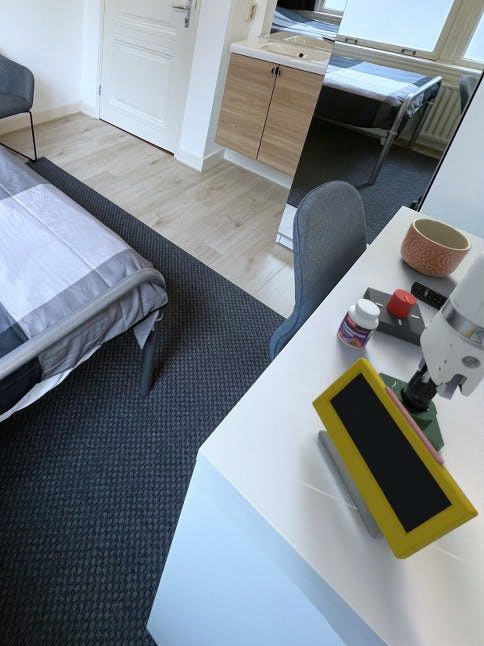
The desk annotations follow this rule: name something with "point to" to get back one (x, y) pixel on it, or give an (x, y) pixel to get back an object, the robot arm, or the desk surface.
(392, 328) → the handle block
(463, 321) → the robot arm
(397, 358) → the desk surface
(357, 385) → the yellow framed monitor
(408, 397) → the vent button
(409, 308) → the dial
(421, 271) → the planter
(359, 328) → the pill bottle
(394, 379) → the vent housing
